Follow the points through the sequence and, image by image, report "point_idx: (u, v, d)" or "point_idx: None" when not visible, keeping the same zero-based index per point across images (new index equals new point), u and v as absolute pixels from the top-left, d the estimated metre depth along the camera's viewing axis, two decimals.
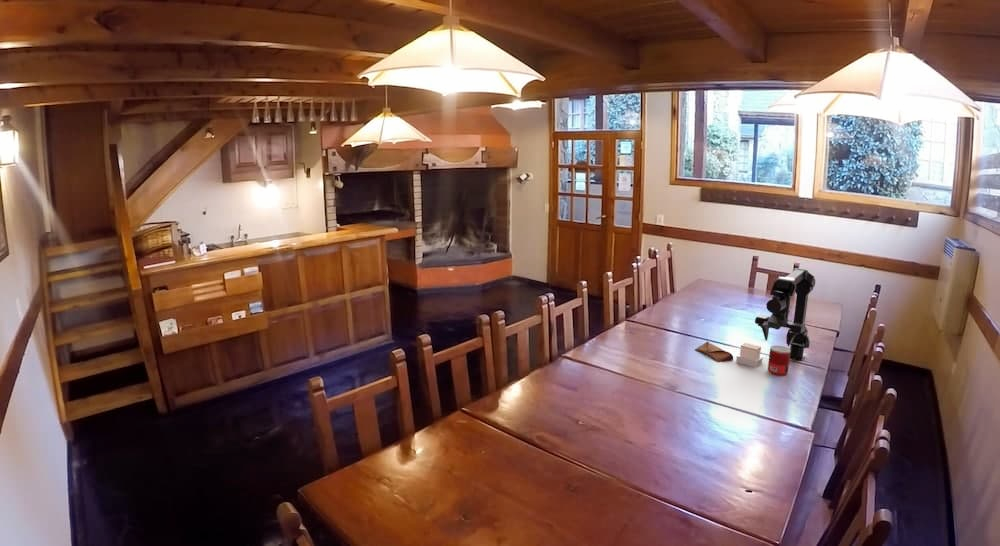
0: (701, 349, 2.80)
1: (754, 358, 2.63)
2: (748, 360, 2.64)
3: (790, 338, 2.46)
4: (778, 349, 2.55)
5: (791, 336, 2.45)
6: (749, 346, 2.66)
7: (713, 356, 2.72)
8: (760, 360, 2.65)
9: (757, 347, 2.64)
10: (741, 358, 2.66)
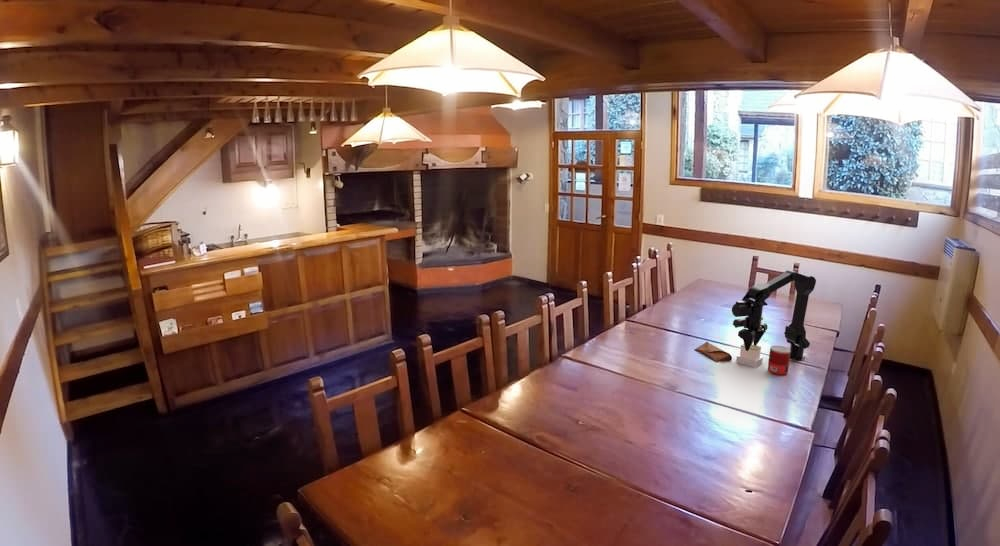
0: (700, 349, 2.80)
1: (754, 358, 2.63)
2: (748, 360, 2.64)
3: None
4: (778, 349, 2.55)
5: None
6: None
7: (712, 356, 2.72)
8: (760, 360, 2.65)
9: (757, 347, 2.64)
10: (741, 358, 2.66)
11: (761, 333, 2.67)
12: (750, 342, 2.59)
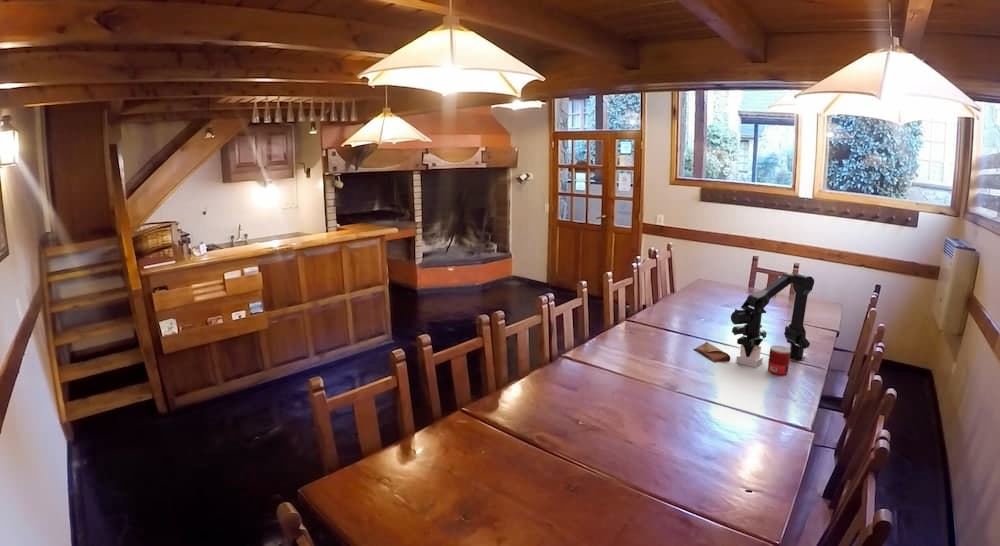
0: (699, 349, 2.80)
1: (754, 358, 2.63)
2: (748, 360, 2.64)
3: None
4: (778, 349, 2.55)
5: None
6: None
7: (710, 356, 2.72)
8: (760, 360, 2.65)
9: (757, 347, 2.64)
10: (741, 358, 2.66)
11: (758, 341, 2.66)
12: (751, 348, 2.62)
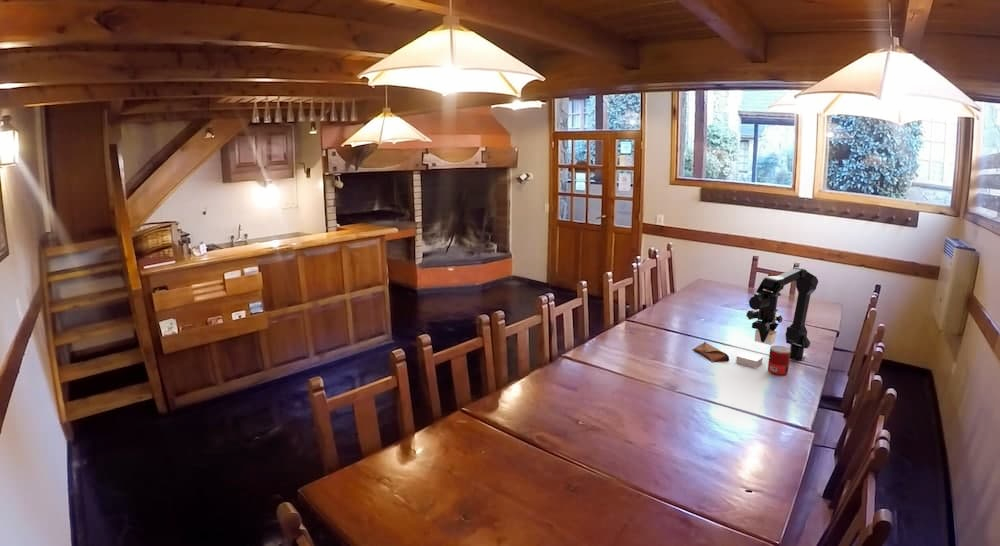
0: (698, 349, 2.80)
1: (769, 343, 2.55)
2: (748, 360, 2.64)
3: None
4: (778, 349, 2.55)
5: None
6: None
7: (709, 356, 2.71)
8: (760, 360, 2.65)
9: (772, 332, 2.57)
10: (741, 358, 2.66)
11: (774, 326, 2.58)
12: (766, 333, 2.54)
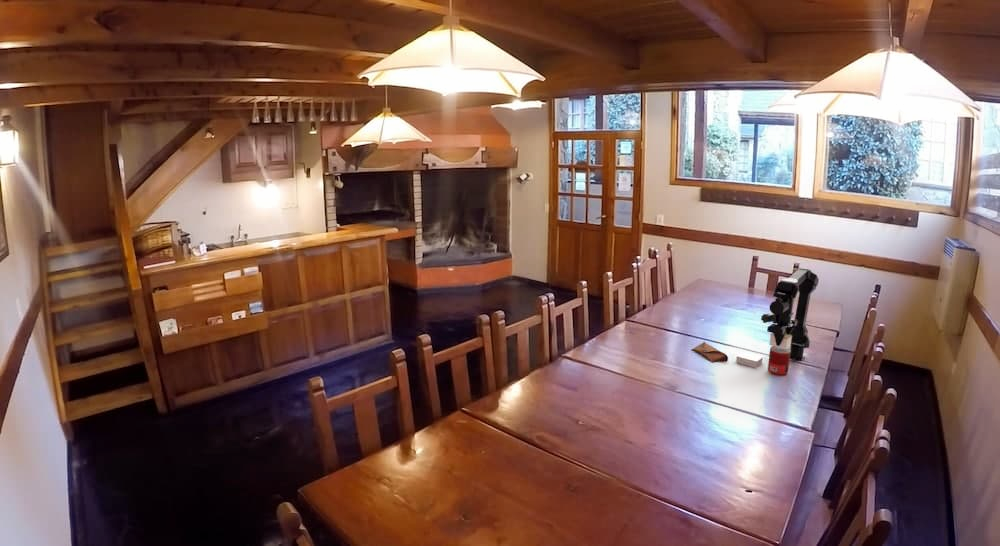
0: (697, 349, 2.80)
1: (785, 347, 2.51)
2: (748, 360, 2.64)
3: None
4: (778, 349, 2.55)
5: None
6: None
7: (708, 356, 2.71)
8: (760, 360, 2.65)
9: (788, 335, 2.52)
10: (741, 358, 2.66)
11: (789, 330, 2.54)
12: (781, 337, 2.49)
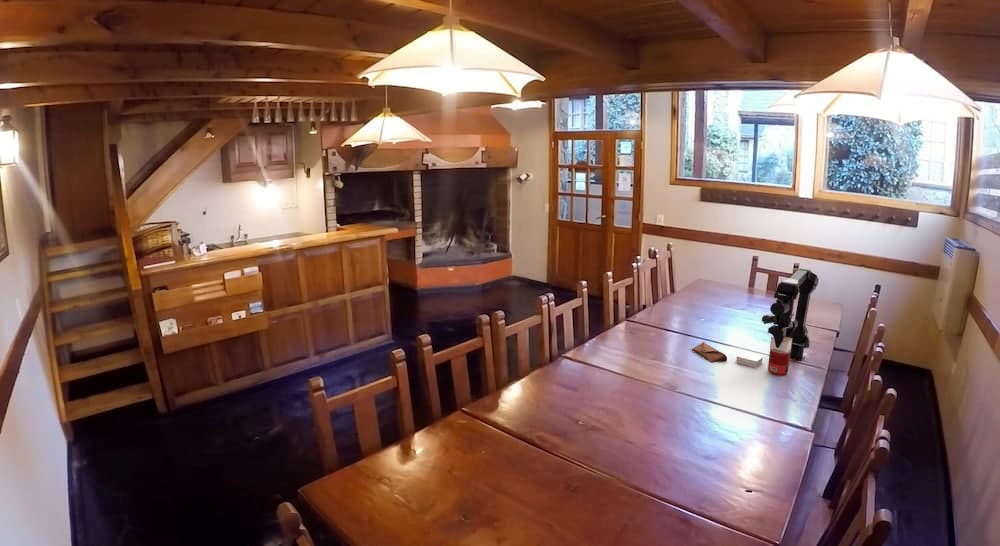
0: (696, 349, 2.80)
1: (785, 350, 2.51)
2: (748, 360, 2.64)
3: None
4: None
5: None
6: None
7: (707, 356, 2.71)
8: (760, 360, 2.65)
9: (788, 339, 2.52)
10: (741, 358, 2.66)
11: (791, 330, 2.55)
12: (781, 339, 2.48)
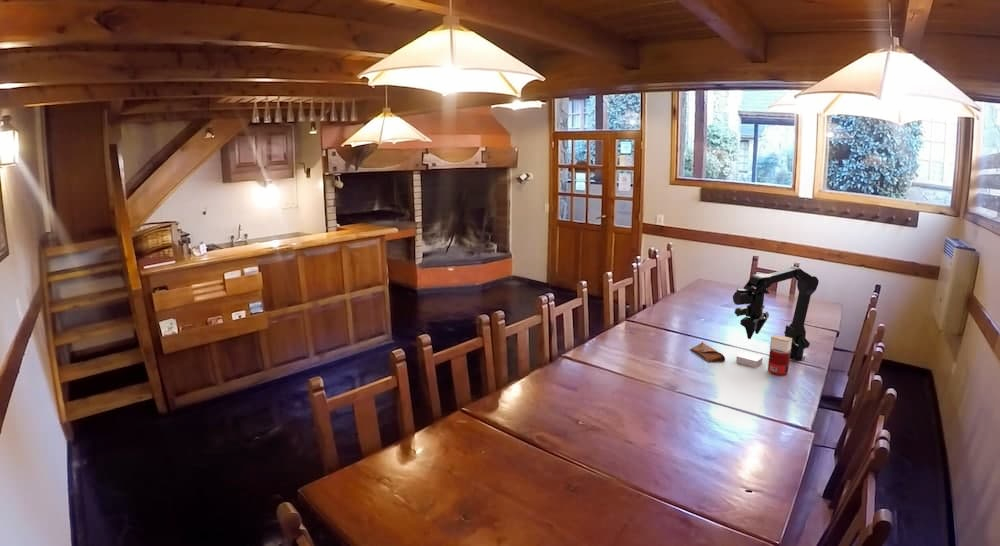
0: (695, 349, 2.80)
1: (785, 350, 2.51)
2: (748, 360, 2.64)
3: None
4: None
5: None
6: (780, 337, 2.54)
7: (705, 356, 2.71)
8: (760, 360, 2.65)
9: (788, 338, 2.52)
10: (741, 358, 2.66)
11: (763, 321, 2.67)
12: (752, 330, 2.60)
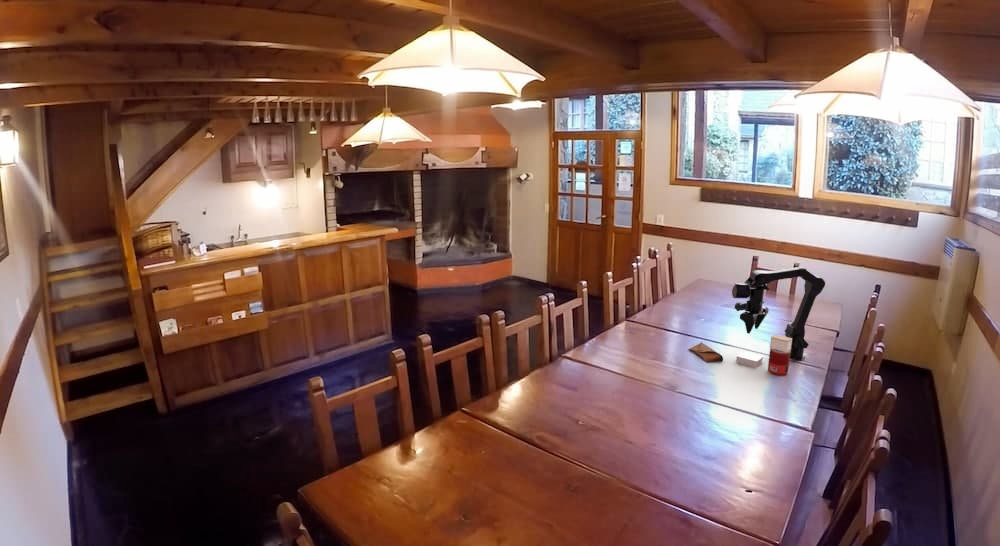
0: (693, 349, 2.80)
1: (785, 350, 2.51)
2: (748, 360, 2.64)
3: None
4: None
5: None
6: (780, 338, 2.54)
7: (703, 356, 2.71)
8: (760, 360, 2.65)
9: (788, 339, 2.52)
10: (741, 358, 2.66)
11: (762, 316, 2.73)
12: (751, 325, 2.66)
